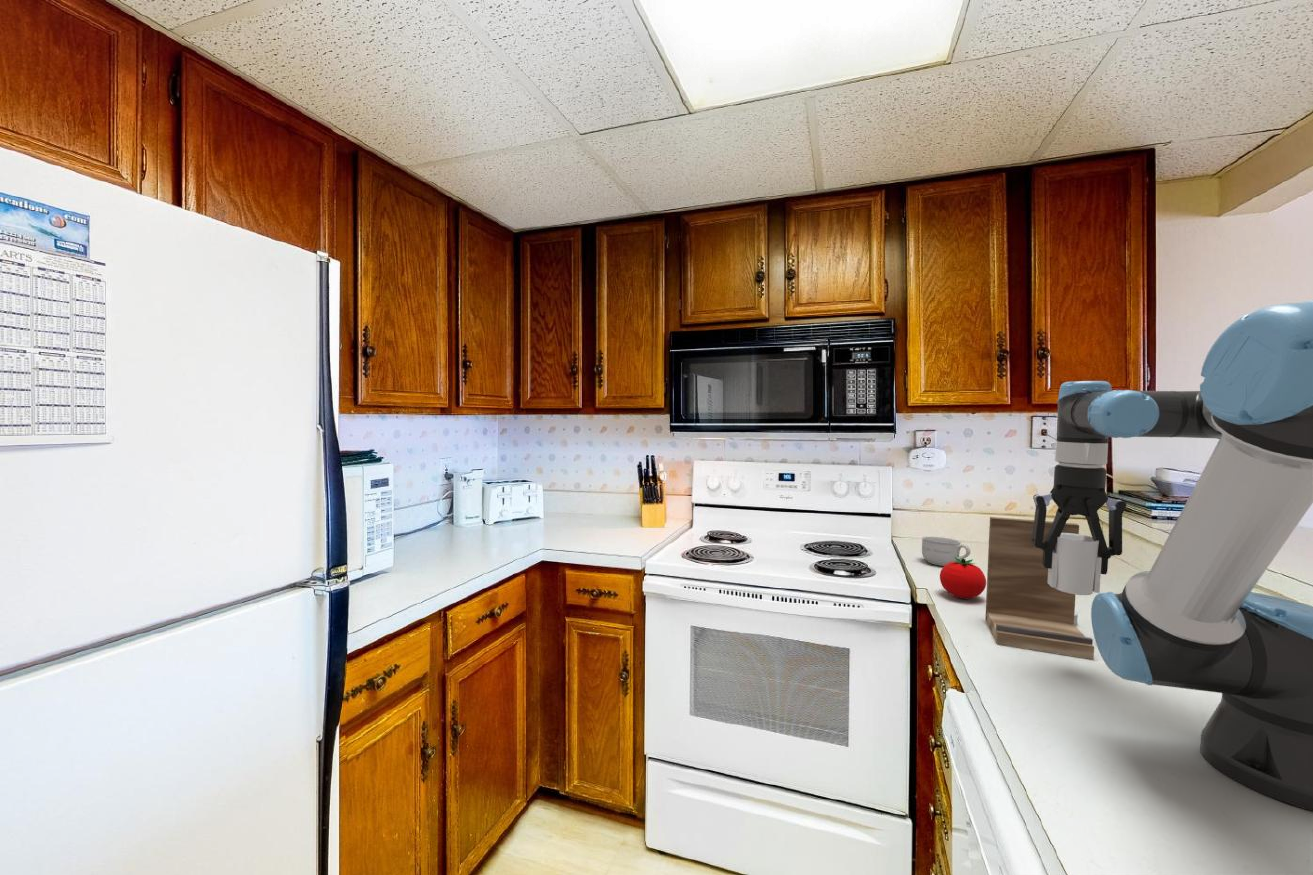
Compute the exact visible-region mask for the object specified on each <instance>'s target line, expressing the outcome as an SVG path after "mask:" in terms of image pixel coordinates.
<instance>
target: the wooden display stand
mask: <svg viewBox="0 0 1313 875" xmlns="http://www.w3.org/2000/svg"><path fill="white" fill-rule="evenodd" d="M1052 523H1053V521H1046V520H1045V528H1044V537H1043V542H1044V541H1045V539H1046V537H1047V534H1048V532H1049V530H1050V528H1051V525H1052ZM1033 526H1034V519H1022V518H1021V519H1020V518H1009V517H997V516H989V527H988V528H989V531H988V533H989V534H988V550H987V551H988V552H987V573H986V574H987V575H986V576H987V578H986V595H985V597H986V598H985V599H986V600H985V615H984V616H985V618H984V619H985V622H986V624H987V626H988V628H989V631H990V632H991V634H992V637H993V638H994V640H995V642H996V644H997V645H999V646H1000V645H1001V646H1007V647H1011V648H1012V647H1013V648H1019V649H1025V650H1026V649H1027V650H1032V651H1037V652H1038V651H1039V652H1043V653H1044V652H1045V653H1051V654H1058V655H1063V656H1070V657H1075V658H1076V657H1077V658H1082V659H1087V660H1088V659H1089V660H1094V659H1095V658H1094V656H1095V646H1094V645H1093V638H1092V637H1087V636H1086V635H1084V634H1083V633H1082V632H1081V630H1080V629H1079V628H1078V627H1077V625H1076V626H1075V625H1074V613H1075V611H1076V594H1070V593H1066V592H1062V591H1060V590H1057V589H1056V588H1053V587H1051V586H1050V585H1049V584H1048V568H1045V567H1044V566H1043V564H1042V561H1043V549H1040V548H1037V547H1036V546H1035V545H1033V544H1032V534H1033ZM1062 533H1072V534H1080V525H1079V524H1077V523H1074V522H1066V524H1065V526H1064V528H1063V531H1062Z"/></svg>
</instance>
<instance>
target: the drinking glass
mask: <svg viewBox="0 0 1313 875" xmlns="http://www.w3.org/2000/svg"><path fill="white" fill-rule="evenodd" d="M1098 545H1099V540H1098V541H1094V540H1093V538H1092V536H1091V535H1090V536H1089V535H1086V534H1080V533H1079V534H1072V533H1061V535H1060V537H1058V542H1057V544H1056V546H1055V548H1054V552H1056V553H1057V554H1058V568H1057V585H1056V589H1057V590H1060V591H1062V592H1066V593H1070V594H1076V595H1077V596H1091V595H1093V593H1094V592H1093V586H1094V577H1095V569H1096V559H1097V553H1098ZM1076 595H1075V596H1076Z"/></svg>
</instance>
